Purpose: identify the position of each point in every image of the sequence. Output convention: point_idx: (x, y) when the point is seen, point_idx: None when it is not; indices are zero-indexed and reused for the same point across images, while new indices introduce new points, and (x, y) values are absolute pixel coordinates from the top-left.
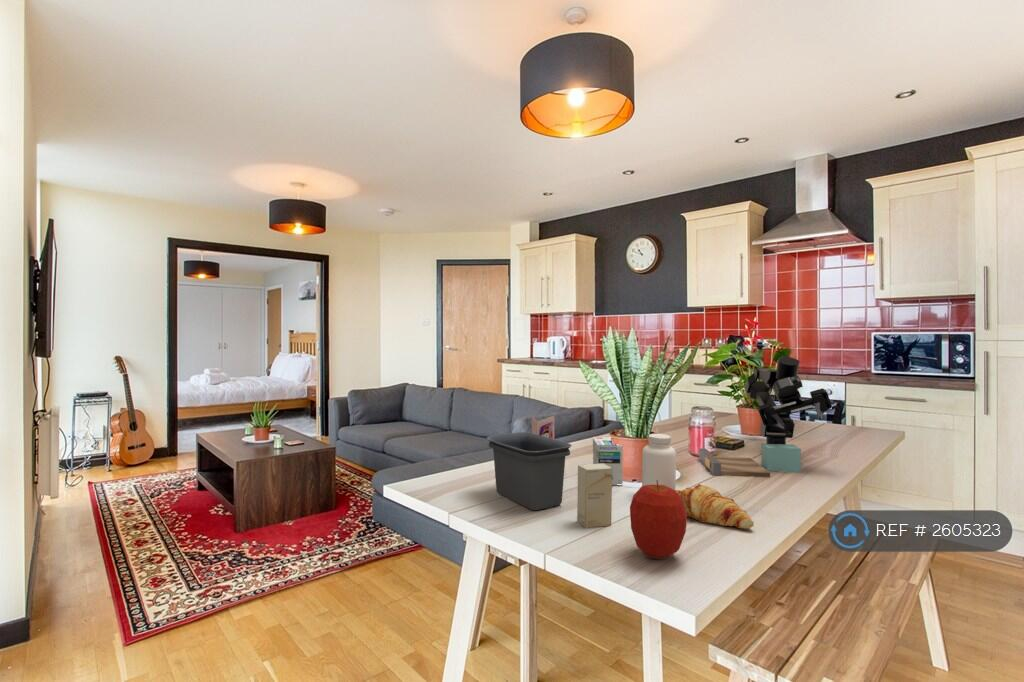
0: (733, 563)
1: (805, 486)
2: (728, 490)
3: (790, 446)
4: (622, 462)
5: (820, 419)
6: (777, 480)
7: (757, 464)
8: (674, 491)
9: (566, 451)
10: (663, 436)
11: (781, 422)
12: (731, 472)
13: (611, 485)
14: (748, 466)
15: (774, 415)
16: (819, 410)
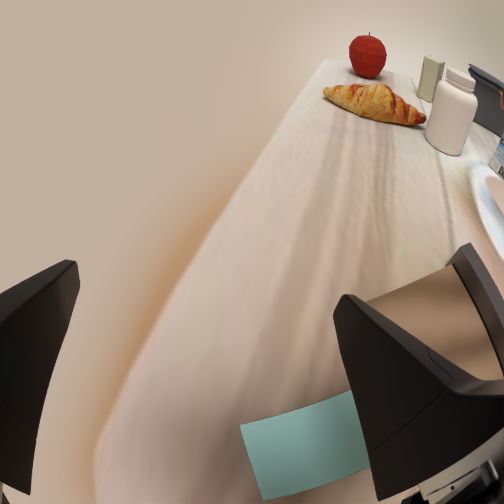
0: (323, 75)
1: (257, 266)
2: (395, 182)
3: (285, 455)
4: (500, 141)
5: (75, 276)
6: (326, 290)
7: None
8: (359, 37)
9: (473, 73)
10: (456, 71)
11: (378, 317)
12: (433, 273)
13: (422, 68)
14: None
15: (462, 378)
16: (12, 287)
